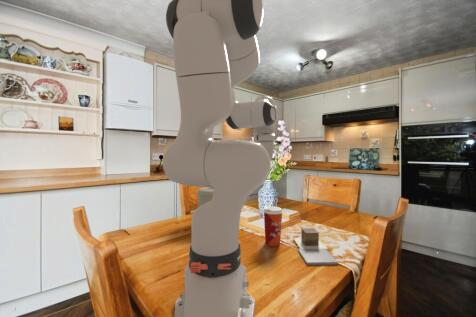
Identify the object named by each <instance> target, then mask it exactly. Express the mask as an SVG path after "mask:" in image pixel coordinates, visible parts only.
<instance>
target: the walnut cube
mask: <svg viewBox="0 0 476 317" xmlns="http://www.w3.org/2000/svg"><path fill="white" fill-rule="evenodd" d="M300 229H301V232H300V233H301V235H300V236H301V237H300V238H301V241H302V242H303V243H304V245H305V246H319V240H320V239H319V235H320V234H319V231H318V230H316V229H315V228H314V227H310V228H309V227H306V228H305V227H302V228H300Z"/></svg>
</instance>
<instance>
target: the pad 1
mask: <svg viewBox="0 0 476 317" xmlns="http://www.w3.org/2000/svg"><path fill="white" fill-rule="evenodd" d="M294 241H295V242H294ZM293 242H294V243H295V245H296V244H297V245H296V246H297V247H299V248H298V249H326V250H328V251H329V248H328V247H327V246H326V245H325V244H324V243H323V242H322V241H321V239H319V246H305V245H304V243H303V242H302V241H301V237H296V238H295V237H293Z"/></svg>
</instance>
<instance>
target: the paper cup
mask: <svg viewBox="0 0 476 317" xmlns="http://www.w3.org/2000/svg"><path fill="white" fill-rule="evenodd" d="M262 212H263V220H264V221H263V222H264V223H263V224H264V236H265V237H264V238H265V245H267V246H269V247H278V246H280V245H281V237H282V236H281V235H282V234H281V233H282V222H283V220H282V218H283V217H282V216H283V213H284V211H283V209H282V208H281V207H279V206H274V205H273V206H272V205H271V206H265V207H264V209H263V211H262Z"/></svg>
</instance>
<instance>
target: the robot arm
mask: <svg viewBox="0 0 476 317" xmlns="http://www.w3.org/2000/svg"><path fill="white" fill-rule="evenodd" d="M165 13H166V14H165V22H166V26H167V30H168V32H169V35H170V37H171V38H172V40H173V42H172V44H173V63H174V70H175V71H174V72H175V78H176V79H175V80H176V84H177V85H176V86H177V90H178V97H179V99H178V100H179V106H180V107H179V109H180V123H179V130H178V133H177V135H176V138H175V139H174V141H173V142H172V144H171V145H169V146H168V148H167V149H166V150H165V152H164V155H163V157H162V168H163V172H164V175H165V176H166V177H167V179H168V180H169V181H170V182H174V183H177V184H180V185H183V186H186V187H199V188H203V187H212V188H213V197H212V200H211V201H208V202H206V203H204V204H203V205H201V206H199V205H198V207H196V209H195V210H194V211H193V213H192V216H191V220H190V221H191V222H190V223H191V224H190V228H191V229H190V230H191V233H190V234H191V235H190V236H191V237H190V238H191V244H190V247H189V252H188V266H186V267H185V268H184V292H183V291H182V292H180V297H178V298H177V299H176V300H175V304H174V316H173V317H255V308H256V299H255V297H253V296H252V295H249V293H248V290H247V288H249V280H247V268H246V267H245V265H243V264H242V263H241V261H242V260H241V256H242V250H241V244H240V243H239V242H240V241H239V239H240V238H239V236H240V234H239V232H240V223H241V221H240V220H241V214H242V213H241V212H242V210H243V207H244V204H245V203H246V201H247V199H248V198H249V197H250V195H251V194H252V193H253V192H254V191H256V190H257V189H258V188H260V187H261V186H262V185H263V184H264V183H265V182H266V180H267V179H268V177H269V176H270V171H271V167H272V166H271V164H272V163H271V162H272V160H273V156H274V143H275V142H276V128H275V127H276V126H275V122H276V120H277V118H276V117H277V110H276V108H275V106H276V105H275V101H274V99H273V97H270V96H268V95H267V96H265V95H261V96H257V97H256V98H255V101H247V102H239V101H237V100H236V93H235V89H234V88H235V87H236V86H237V85H238V84H240V83H242V82H245V81H247V80H248V79H250V78H251V77H252V76H253V75H254V74H255V72H256V71H257V69H258V67H259V66H260V62H261V61H260V60H261V58H260V57H261V56H260V49H259V45H258V40H257V37H256V35H257V34H258V33H259V31H260V30H261V29H262V26H263V18H264V3H263V0H171V1H170V2H169V3H168V6H167V8H166V11H165ZM223 122H225V123H226V124H227V125H228V127H230V128H231V129H233V130H239V129H240V130H241V129H253V141H250V140H243V139H226V140H225V139H221V140H219V139H215V138H214V131H215V130H214V129H215V128H216V127H217V126H218V125H219V126H220V125H221V123H223Z"/></svg>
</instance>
